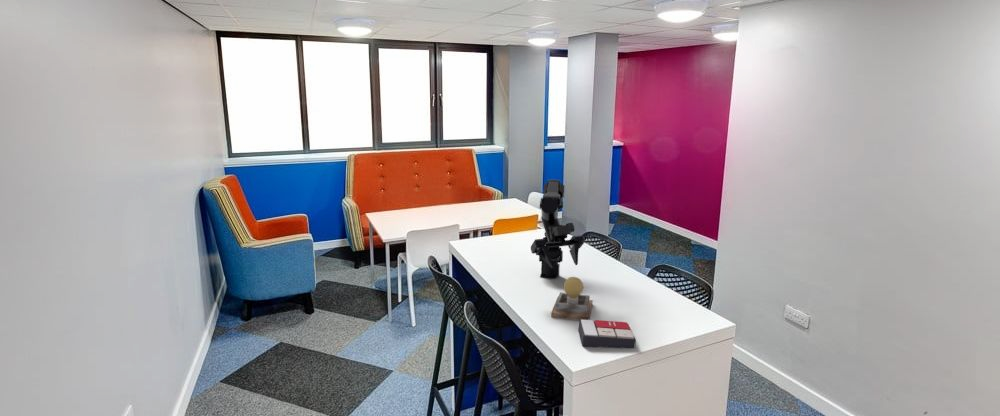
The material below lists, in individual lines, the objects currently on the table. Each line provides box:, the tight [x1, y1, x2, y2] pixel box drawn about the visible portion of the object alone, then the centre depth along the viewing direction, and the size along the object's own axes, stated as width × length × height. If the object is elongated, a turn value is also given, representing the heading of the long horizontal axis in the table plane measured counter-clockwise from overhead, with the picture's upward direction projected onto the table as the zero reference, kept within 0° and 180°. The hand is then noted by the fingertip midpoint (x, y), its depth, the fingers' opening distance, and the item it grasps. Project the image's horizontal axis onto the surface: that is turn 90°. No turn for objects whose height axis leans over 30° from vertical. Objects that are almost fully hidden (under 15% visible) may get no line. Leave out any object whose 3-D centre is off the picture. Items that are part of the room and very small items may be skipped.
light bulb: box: [563, 276, 584, 305], centre depth 171 cm, size 6×6×10 cm
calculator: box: [577, 319, 637, 349], centre depth 153 cm, size 11×4×15 cm
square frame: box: [550, 291, 594, 321], centre depth 172 cm, size 12×14×4 cm
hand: (564, 266), depth 176 cm, fingers open, 9 cm apart
